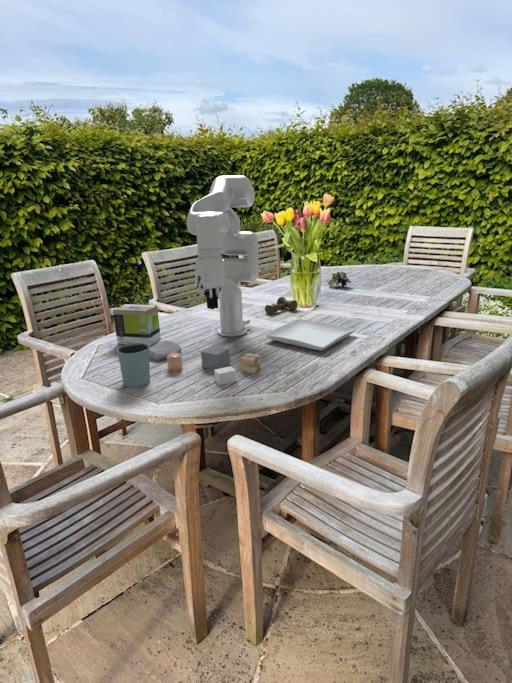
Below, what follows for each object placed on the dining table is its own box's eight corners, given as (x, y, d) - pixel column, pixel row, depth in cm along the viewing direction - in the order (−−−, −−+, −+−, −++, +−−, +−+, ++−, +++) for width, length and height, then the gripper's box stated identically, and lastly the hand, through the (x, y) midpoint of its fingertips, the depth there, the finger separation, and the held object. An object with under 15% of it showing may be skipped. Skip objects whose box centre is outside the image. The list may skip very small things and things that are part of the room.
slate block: (214, 360, 168) (213, 345, 166) (229, 364, 164) (229, 348, 162) (202, 367, 162) (201, 351, 160) (218, 371, 159) (217, 355, 157)
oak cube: (247, 366, 162) (247, 352, 161) (260, 368, 160) (259, 355, 158) (240, 371, 158) (240, 357, 156) (253, 373, 156) (253, 359, 154)
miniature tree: (342, 295, 277) (354, 279, 272) (334, 295, 268) (347, 279, 263) (329, 282, 281) (341, 267, 276) (321, 282, 272) (334, 267, 267)
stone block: (184, 357, 177) (167, 347, 182) (184, 346, 175) (167, 336, 180) (160, 368, 169) (142, 357, 174) (160, 357, 166) (142, 346, 171)
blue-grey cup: (115, 387, 148) (111, 352, 144) (129, 375, 157) (125, 341, 153) (145, 389, 146) (141, 354, 142) (157, 376, 155) (154, 343, 151)
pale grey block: (231, 377, 154) (231, 366, 152) (236, 381, 150) (235, 370, 149) (214, 380, 151) (214, 369, 150) (219, 385, 148) (218, 373, 147)
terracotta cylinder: (176, 365, 165) (175, 352, 163) (185, 368, 162) (184, 355, 160) (165, 369, 161) (163, 356, 160) (174, 372, 158) (173, 359, 156)
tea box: (161, 338, 193) (158, 304, 188) (150, 347, 184) (146, 311, 179) (129, 336, 197) (125, 302, 192) (116, 344, 187) (111, 309, 183)
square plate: (323, 356, 170) (323, 346, 169) (263, 342, 186) (263, 333, 185) (355, 336, 190) (356, 327, 189) (299, 325, 206) (299, 317, 205)
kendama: (260, 314, 226) (288, 305, 238) (274, 318, 219) (302, 308, 232) (260, 302, 224) (288, 293, 236) (274, 306, 217) (303, 297, 230)
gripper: (218, 249, 158) (221, 301, 164) (183, 255, 147) (188, 311, 153) (234, 251, 153) (236, 305, 159) (199, 257, 142) (203, 315, 149)
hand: (212, 307), depth 156 cm, fingers closed
